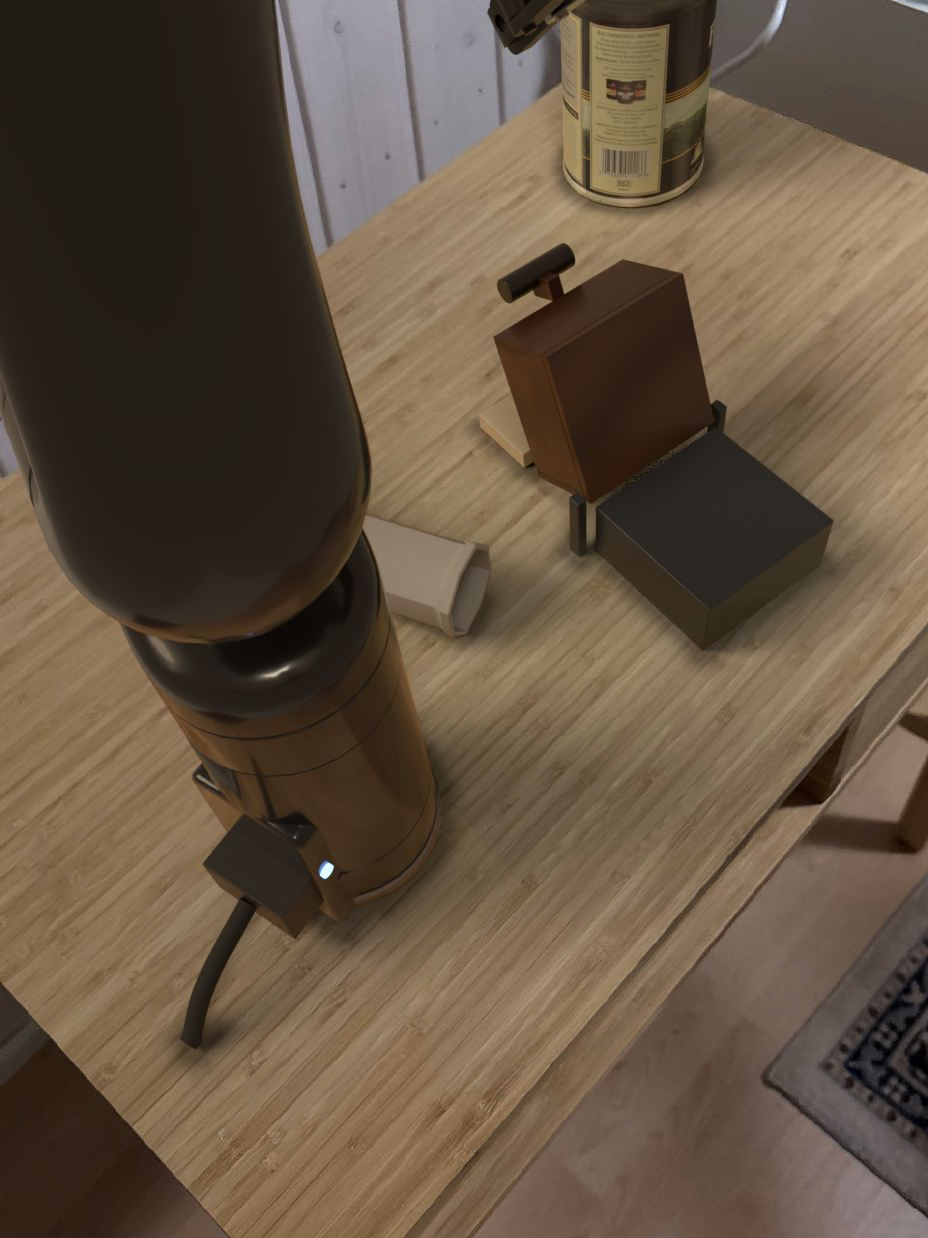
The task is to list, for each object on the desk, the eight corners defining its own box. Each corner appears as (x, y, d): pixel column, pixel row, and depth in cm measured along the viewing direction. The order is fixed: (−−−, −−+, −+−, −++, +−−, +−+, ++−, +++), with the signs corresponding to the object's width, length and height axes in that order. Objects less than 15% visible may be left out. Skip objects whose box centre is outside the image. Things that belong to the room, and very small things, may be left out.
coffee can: (675, 108, 87) (689, -89, 75) (724, 189, 81) (747, -11, 69) (544, 138, 86) (538, -57, 75) (583, 222, 81) (583, 26, 69)
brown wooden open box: (676, 239, 58) (589, 221, 63) (537, 323, 55) (459, 297, 61) (714, 421, 64) (632, 391, 70) (591, 504, 62) (516, 465, 67)
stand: (834, 554, 63) (850, 501, 59) (689, 662, 60) (695, 613, 57) (710, 453, 68) (717, 398, 64) (569, 548, 65) (568, 497, 61)
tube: (48, 494, 66) (440, 623, 58) (87, 411, 67) (478, 528, 59) (97, 526, 71) (464, 649, 63) (132, 449, 72) (498, 561, 64)
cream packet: (565, 441, 70) (565, 428, 69) (524, 468, 69) (523, 454, 68) (520, 402, 72) (519, 388, 71) (479, 427, 71) (478, 413, 70)
